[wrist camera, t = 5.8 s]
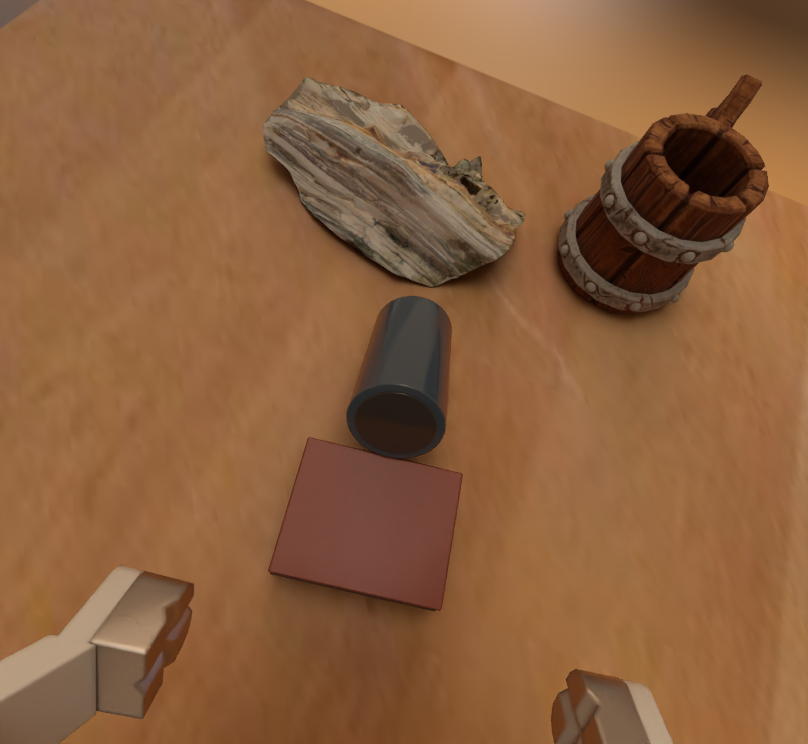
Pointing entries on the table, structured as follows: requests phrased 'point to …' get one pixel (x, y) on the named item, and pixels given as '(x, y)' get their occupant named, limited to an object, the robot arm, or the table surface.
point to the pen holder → (403, 380)
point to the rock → (388, 184)
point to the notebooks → (369, 525)
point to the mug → (664, 208)
